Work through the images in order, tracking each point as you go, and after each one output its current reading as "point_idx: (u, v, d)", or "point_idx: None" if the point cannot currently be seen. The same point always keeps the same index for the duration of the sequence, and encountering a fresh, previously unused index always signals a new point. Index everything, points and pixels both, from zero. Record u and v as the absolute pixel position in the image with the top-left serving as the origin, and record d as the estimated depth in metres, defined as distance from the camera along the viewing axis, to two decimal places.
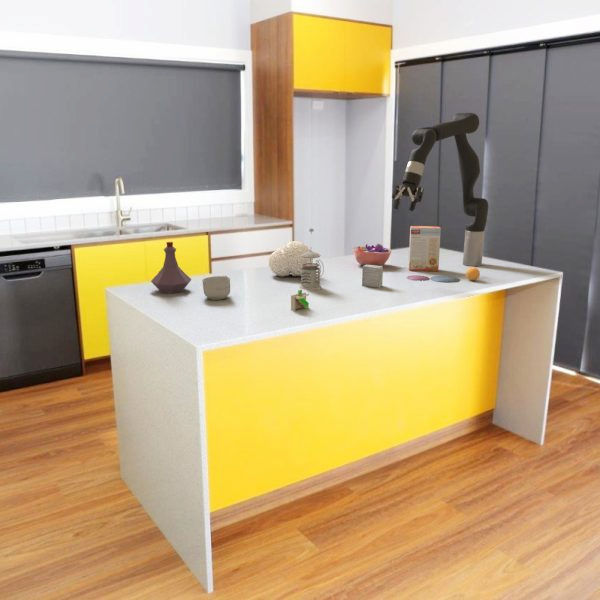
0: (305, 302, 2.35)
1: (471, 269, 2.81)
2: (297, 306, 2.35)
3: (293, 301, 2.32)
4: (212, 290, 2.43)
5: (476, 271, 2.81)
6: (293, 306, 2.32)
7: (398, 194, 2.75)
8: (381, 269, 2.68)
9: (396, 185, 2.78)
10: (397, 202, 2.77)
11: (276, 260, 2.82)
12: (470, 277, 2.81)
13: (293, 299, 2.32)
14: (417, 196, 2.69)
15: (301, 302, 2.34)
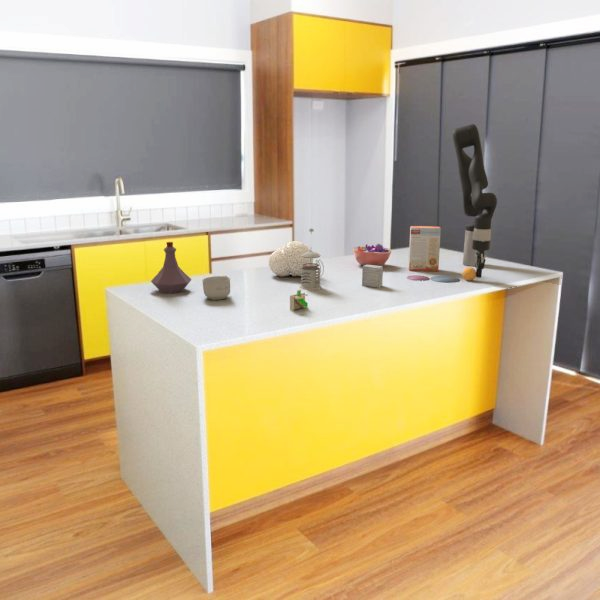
0: (304, 302, 2.35)
1: (466, 270, 2.81)
2: (296, 306, 2.35)
3: (292, 301, 2.32)
4: (212, 290, 2.43)
5: (471, 270, 2.81)
6: (292, 306, 2.32)
7: None
8: (381, 269, 2.68)
9: (485, 260, 2.75)
10: None
11: (276, 260, 2.82)
12: (467, 278, 2.82)
13: (292, 299, 2.31)
14: None
15: (300, 302, 2.33)
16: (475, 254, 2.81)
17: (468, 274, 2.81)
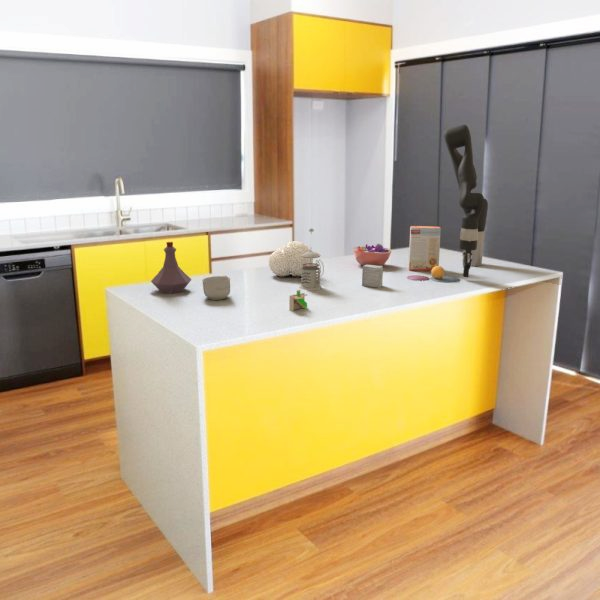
0: (303, 302, 2.35)
1: (443, 271, 2.83)
2: (295, 306, 2.35)
3: (291, 301, 2.32)
4: (212, 290, 2.43)
5: (440, 276, 2.83)
6: (292, 307, 2.32)
7: None
8: (381, 269, 2.68)
9: (471, 260, 2.76)
10: None
11: (276, 260, 2.82)
12: (435, 269, 2.83)
13: (291, 299, 2.31)
14: None
15: (299, 302, 2.33)
16: None
17: (438, 272, 2.83)
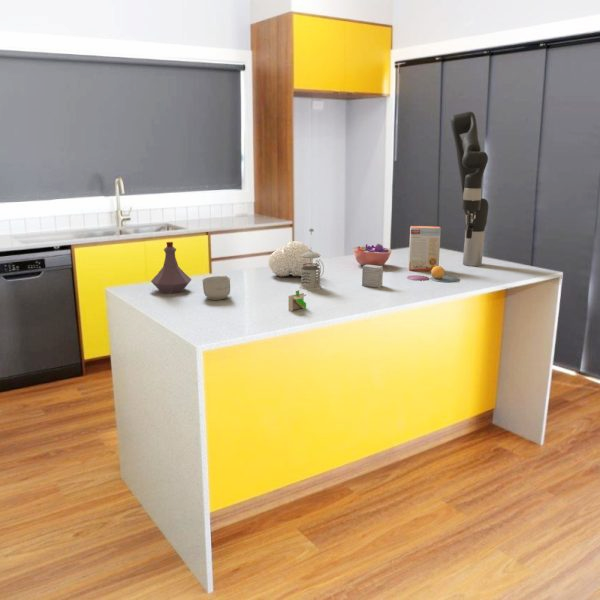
0: (303, 302, 2.34)
1: (443, 271, 2.83)
2: (294, 306, 2.35)
3: (290, 301, 2.31)
4: (212, 290, 2.43)
5: (440, 276, 2.83)
6: (291, 307, 2.32)
7: None
8: (381, 269, 2.68)
9: (474, 219, 2.72)
10: None
11: (276, 260, 2.82)
12: (435, 269, 2.83)
13: (290, 299, 2.31)
14: None
15: (299, 302, 2.33)
16: None
17: (438, 272, 2.83)
